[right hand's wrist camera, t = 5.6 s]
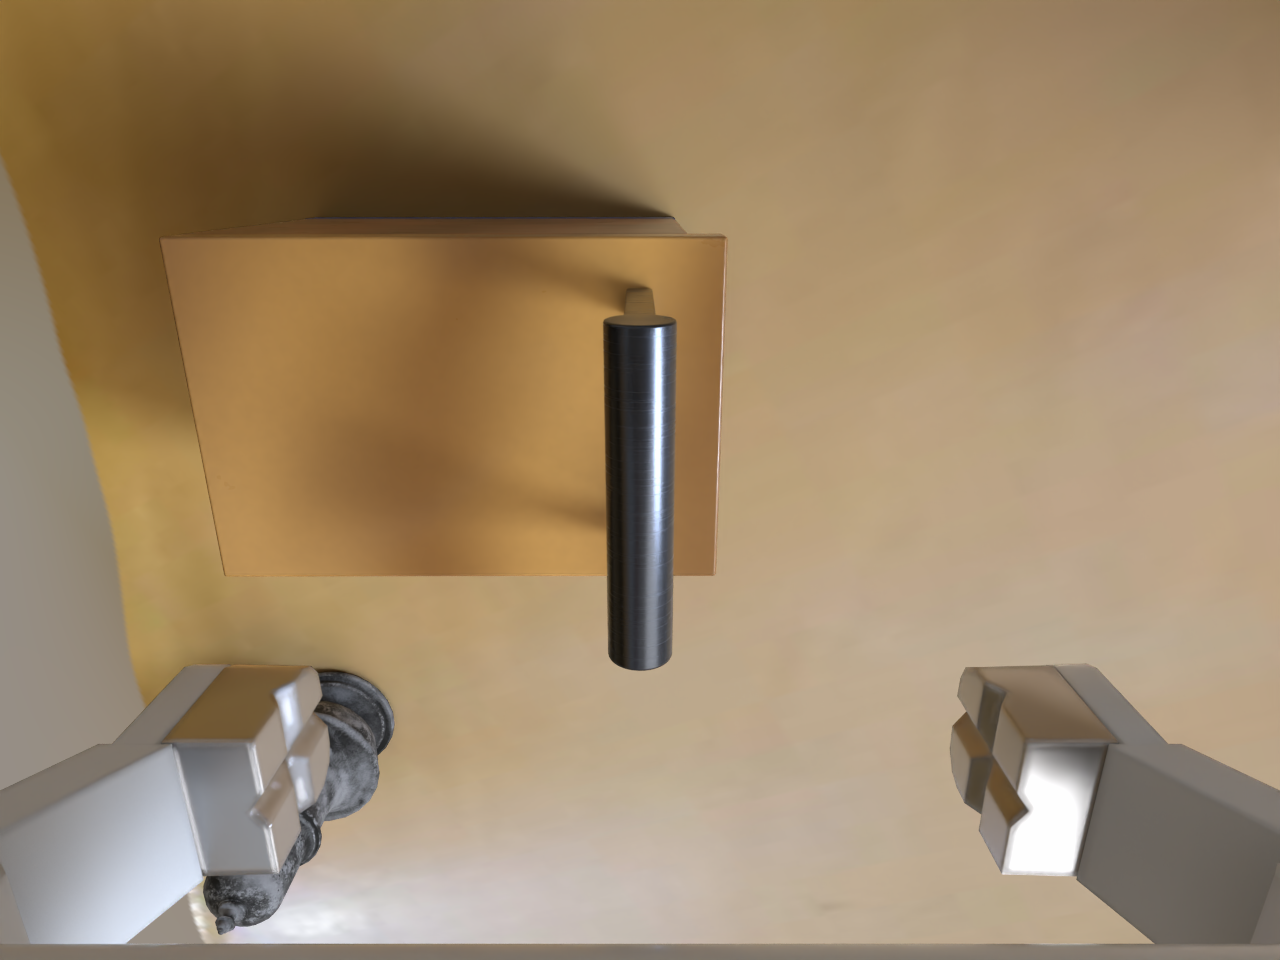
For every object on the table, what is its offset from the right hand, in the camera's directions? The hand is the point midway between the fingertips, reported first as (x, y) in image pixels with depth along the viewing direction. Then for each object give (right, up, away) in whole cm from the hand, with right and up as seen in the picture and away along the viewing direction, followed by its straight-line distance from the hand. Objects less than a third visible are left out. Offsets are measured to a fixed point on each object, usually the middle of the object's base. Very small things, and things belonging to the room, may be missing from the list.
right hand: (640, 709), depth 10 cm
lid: (-5, +5, +14) cm, 15 cm away
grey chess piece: (-14, -9, +29) cm, 34 cm away
